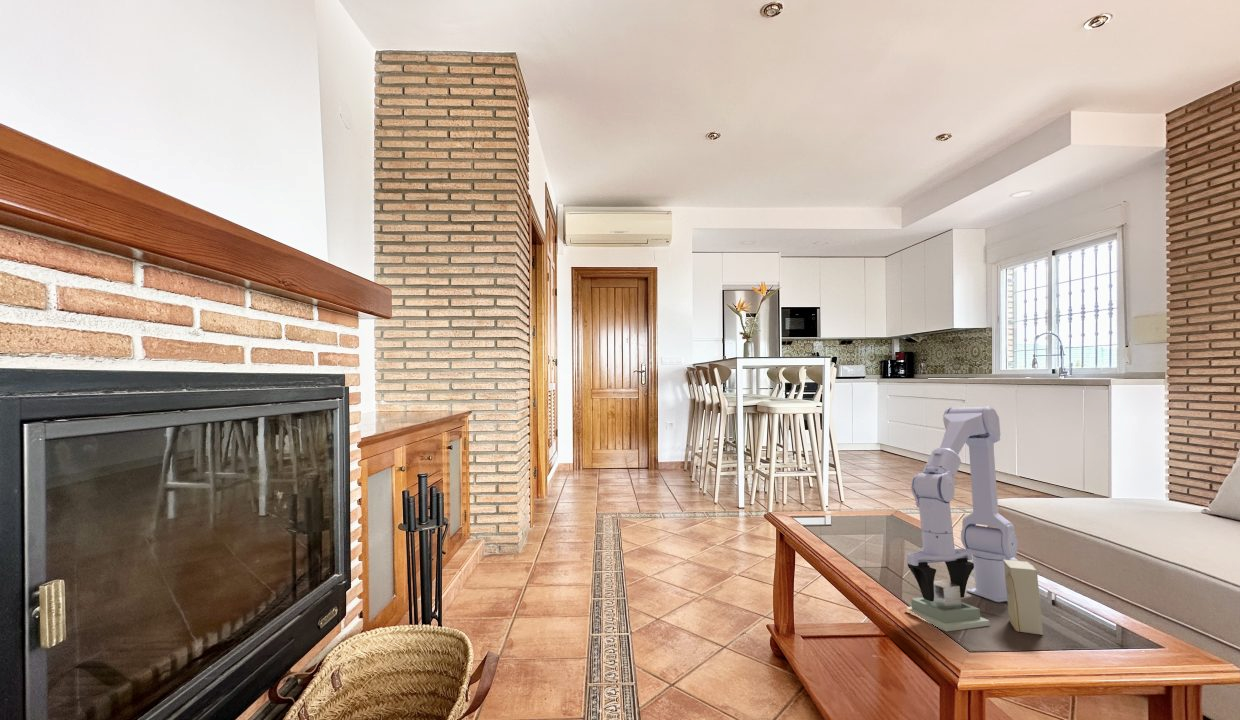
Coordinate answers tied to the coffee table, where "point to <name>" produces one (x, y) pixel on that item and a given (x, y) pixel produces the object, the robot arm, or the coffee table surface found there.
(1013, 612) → the skincare box
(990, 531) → the robot arm
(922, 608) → the tray
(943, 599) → the aluminium block
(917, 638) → the coffee table surface
